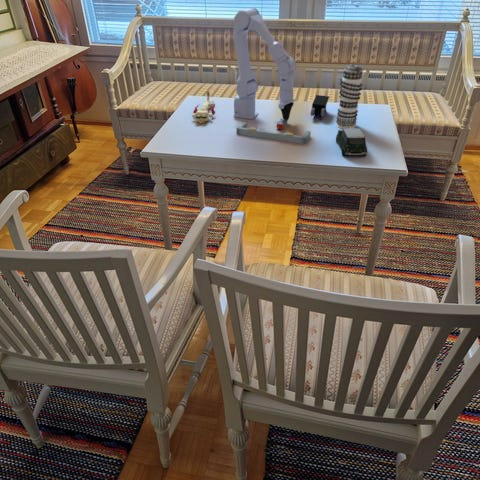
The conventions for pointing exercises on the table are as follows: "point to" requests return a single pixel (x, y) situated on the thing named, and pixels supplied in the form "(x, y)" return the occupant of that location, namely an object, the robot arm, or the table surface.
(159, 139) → the table surface
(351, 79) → the model tower building
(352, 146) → the miniature car
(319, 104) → the figurine character
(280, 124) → the propeller
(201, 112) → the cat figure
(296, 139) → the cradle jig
